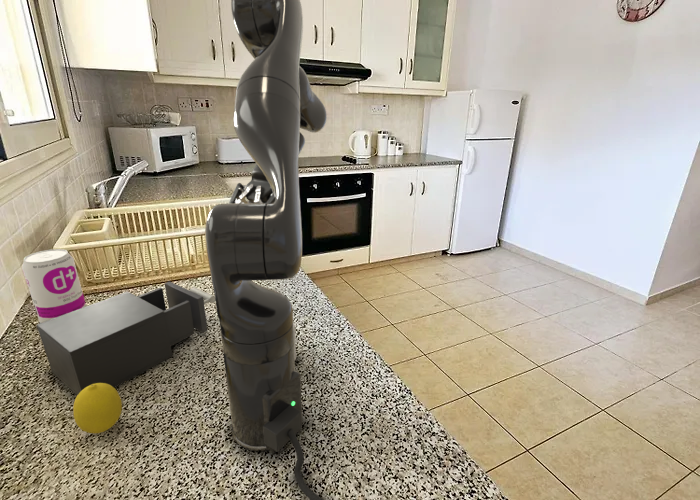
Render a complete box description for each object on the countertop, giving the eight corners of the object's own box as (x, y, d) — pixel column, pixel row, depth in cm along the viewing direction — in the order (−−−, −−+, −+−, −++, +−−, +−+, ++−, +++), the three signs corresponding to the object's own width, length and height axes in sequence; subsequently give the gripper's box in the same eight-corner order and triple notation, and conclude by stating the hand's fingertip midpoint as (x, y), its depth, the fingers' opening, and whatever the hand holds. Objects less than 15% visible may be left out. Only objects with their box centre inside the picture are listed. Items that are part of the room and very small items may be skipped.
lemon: (105, 449, 50) (92, 403, 47) (71, 442, 51) (55, 396, 48) (135, 418, 55) (124, 375, 53) (103, 412, 56) (91, 369, 54)
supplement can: (95, 317, 81) (79, 253, 75) (51, 335, 74) (29, 267, 69) (77, 306, 85) (60, 245, 79) (34, 323, 78) (12, 257, 73)
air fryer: (136, 333, 76) (127, 291, 72) (172, 356, 69) (164, 310, 66) (51, 372, 64) (36, 324, 61) (85, 403, 58) (69, 352, 54)
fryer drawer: (192, 305, 85) (187, 274, 82) (225, 321, 79) (221, 288, 76) (109, 343, 71) (100, 307, 68) (141, 365, 65) (133, 327, 62)
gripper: (244, 153, 89) (207, 212, 84) (288, 159, 82) (251, 224, 77) (262, 173, 95) (228, 229, 90) (305, 180, 88) (271, 241, 83)
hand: (239, 226), depth 84 cm, fingers open, 5 cm apart
